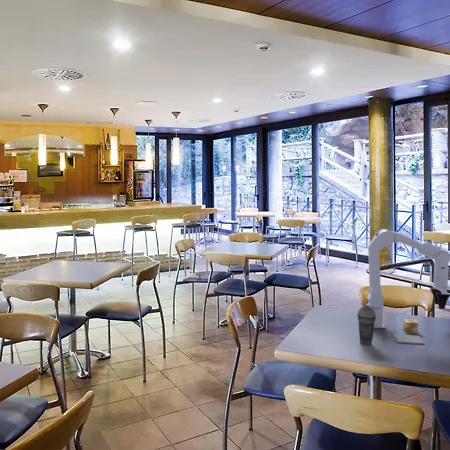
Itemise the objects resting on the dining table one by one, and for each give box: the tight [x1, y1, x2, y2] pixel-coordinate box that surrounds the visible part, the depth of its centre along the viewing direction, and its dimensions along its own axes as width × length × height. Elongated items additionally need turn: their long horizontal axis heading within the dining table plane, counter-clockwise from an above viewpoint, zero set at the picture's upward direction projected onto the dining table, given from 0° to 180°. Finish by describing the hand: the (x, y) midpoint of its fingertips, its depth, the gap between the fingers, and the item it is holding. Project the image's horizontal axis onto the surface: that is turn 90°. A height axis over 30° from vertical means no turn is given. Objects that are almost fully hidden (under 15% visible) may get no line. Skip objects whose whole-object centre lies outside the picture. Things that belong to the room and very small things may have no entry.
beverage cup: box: [357, 294, 376, 347], centre depth 188 cm, size 7×7×20 cm
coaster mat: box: [393, 333, 425, 346], centre depth 194 cm, size 10×10×1 cm
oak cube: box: [402, 318, 419, 335], centre depth 204 cm, size 5×5×5 cm
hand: (439, 306), depth 208 cm, fingers open, 7 cm apart
